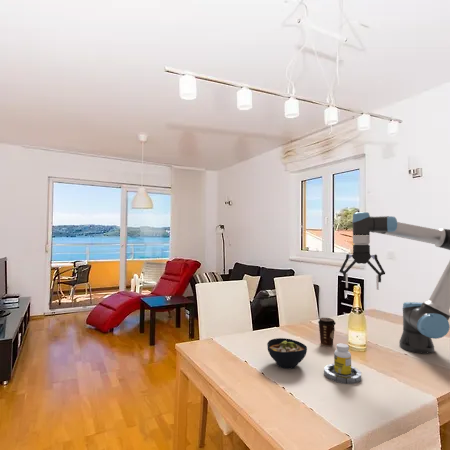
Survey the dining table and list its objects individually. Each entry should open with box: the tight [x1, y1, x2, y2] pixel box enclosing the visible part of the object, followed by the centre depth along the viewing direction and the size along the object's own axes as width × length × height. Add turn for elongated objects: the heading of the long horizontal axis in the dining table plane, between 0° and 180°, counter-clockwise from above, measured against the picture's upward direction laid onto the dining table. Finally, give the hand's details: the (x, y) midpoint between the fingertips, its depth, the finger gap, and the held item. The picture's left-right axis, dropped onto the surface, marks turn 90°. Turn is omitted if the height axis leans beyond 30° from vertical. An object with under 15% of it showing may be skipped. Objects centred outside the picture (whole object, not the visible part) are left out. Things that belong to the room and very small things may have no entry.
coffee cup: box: [317, 317, 336, 347], centre depth 166 cm, size 9×8×13 cm
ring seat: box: [323, 363, 362, 385], centre depth 129 cm, size 14×14×2 cm
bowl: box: [266, 337, 308, 370], centre depth 139 cm, size 17×17×10 cm
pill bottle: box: [333, 343, 352, 377], centre depth 129 cm, size 6×6×12 cm
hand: (361, 288), depth 153 cm, fingers open, 13 cm apart
